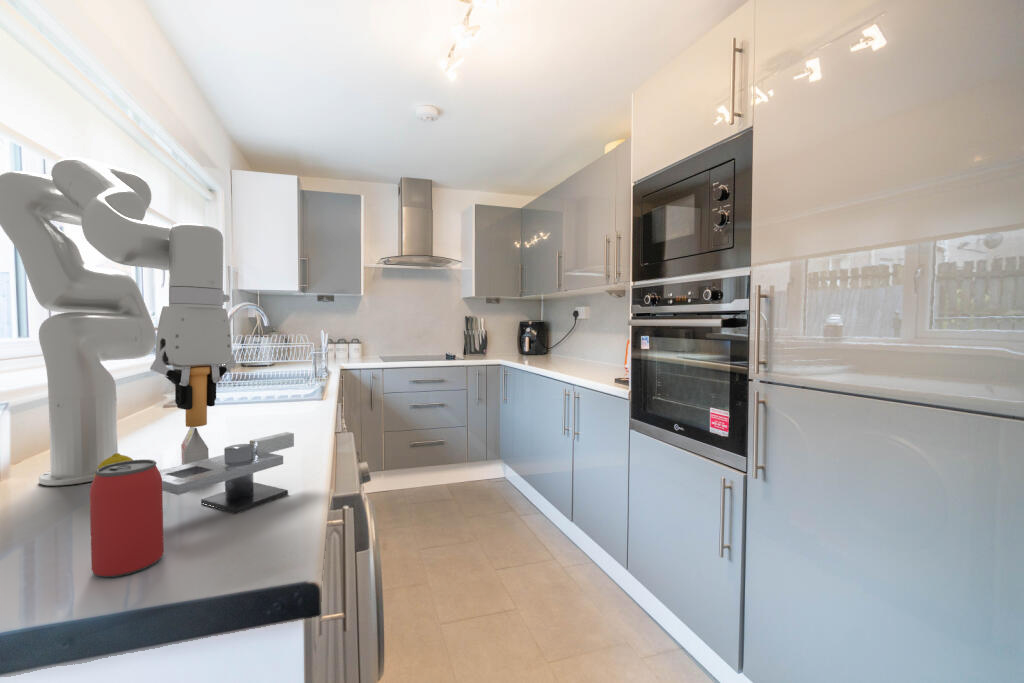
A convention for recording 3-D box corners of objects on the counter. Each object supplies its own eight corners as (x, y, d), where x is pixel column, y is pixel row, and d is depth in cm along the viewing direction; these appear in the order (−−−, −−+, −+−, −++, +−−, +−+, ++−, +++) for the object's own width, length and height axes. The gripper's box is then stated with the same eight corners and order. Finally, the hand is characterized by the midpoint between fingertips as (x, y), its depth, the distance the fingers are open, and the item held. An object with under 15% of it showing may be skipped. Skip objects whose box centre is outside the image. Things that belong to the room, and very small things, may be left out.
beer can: (121, 552, 57) (118, 458, 57) (176, 550, 58) (174, 457, 58) (75, 581, 51) (72, 475, 50) (138, 578, 51) (135, 473, 51)
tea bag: (204, 471, 91) (203, 421, 91) (209, 479, 86) (207, 426, 85) (181, 474, 88) (180, 423, 88) (185, 483, 83) (183, 429, 83)
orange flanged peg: (177, 425, 77) (177, 366, 76) (201, 421, 80) (201, 365, 80) (190, 428, 75) (190, 368, 75) (214, 424, 78) (214, 366, 78)
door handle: (142, 522, 66) (140, 458, 66) (273, 479, 85) (272, 430, 85) (179, 535, 62) (177, 467, 62) (309, 487, 81) (308, 435, 81)
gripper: (231, 302, 86) (230, 398, 86) (127, 296, 71) (127, 412, 72) (256, 302, 82) (255, 402, 83) (152, 296, 68) (152, 417, 69)
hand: (196, 406), depth 78 cm, fingers closed on orange flanged peg, 3 cm apart
